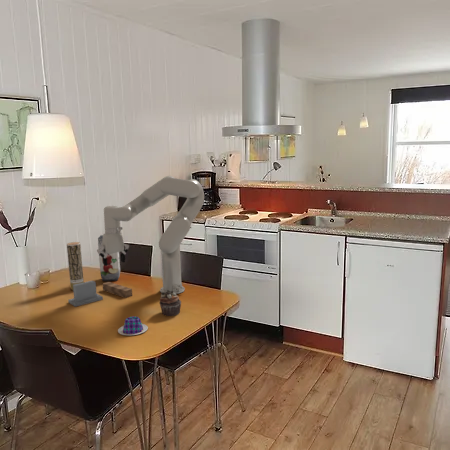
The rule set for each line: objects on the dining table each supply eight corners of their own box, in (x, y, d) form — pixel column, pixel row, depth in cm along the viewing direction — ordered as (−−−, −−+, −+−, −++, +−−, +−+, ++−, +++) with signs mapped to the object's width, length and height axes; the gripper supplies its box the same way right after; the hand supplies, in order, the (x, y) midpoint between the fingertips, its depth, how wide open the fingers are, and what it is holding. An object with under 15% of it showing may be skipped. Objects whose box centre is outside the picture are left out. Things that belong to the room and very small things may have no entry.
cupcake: (175, 317, 188) (174, 295, 186) (156, 315, 191) (154, 293, 190) (185, 310, 197) (184, 289, 195) (166, 307, 200) (165, 287, 198)
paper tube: (80, 291, 228) (75, 244, 224) (68, 290, 229) (64, 244, 225) (86, 287, 235) (82, 242, 230) (75, 286, 236) (71, 241, 232)
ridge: (102, 299, 214) (101, 282, 212) (75, 306, 205) (73, 288, 203) (95, 295, 220) (94, 278, 218) (68, 302, 211) (67, 284, 209)
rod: (132, 296, 218) (131, 288, 218) (125, 298, 215) (125, 290, 215) (109, 289, 231) (109, 281, 231) (103, 290, 228) (102, 283, 228)
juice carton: (102, 277, 252) (99, 232, 247) (121, 276, 253) (118, 231, 248) (100, 282, 243) (96, 235, 238) (119, 281, 244) (115, 234, 239)
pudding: (149, 324, 182) (149, 312, 181) (145, 336, 170) (145, 323, 170) (121, 325, 182) (120, 313, 181) (115, 337, 170) (114, 325, 169)
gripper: (124, 227, 226) (125, 259, 229) (93, 231, 215) (95, 265, 218) (131, 229, 221) (133, 262, 224) (99, 233, 209) (101, 268, 212)
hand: (114, 263), depth 221 cm, fingers open, 9 cm apart
